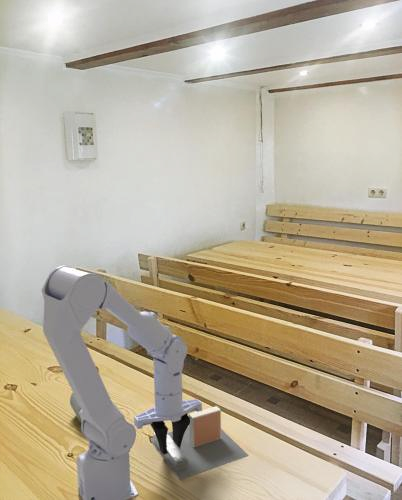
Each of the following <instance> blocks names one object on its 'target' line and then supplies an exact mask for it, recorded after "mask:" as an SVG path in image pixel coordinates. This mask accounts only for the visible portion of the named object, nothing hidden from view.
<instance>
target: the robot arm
mask: <svg viewBox="0 0 402 500" xmlns="http://www.w3.org/2000/svg"><path fill="white" fill-rule="evenodd" d="M41 294H42V297H43V301H44V306H43V323H42V332H43V334H44V337H45V339H46V341H47V343H48V345H49V347H50V349H51V351H52V353H53V355H54V357H55V359H56V361H57V363H58V365H59V367H60V369H61V370H62V371H61V372H62V373H63V375H64V377H65V379H66V381H67V383H68V386H69V387H70V389H71V391H72V393H74V395H75V397H76V399H77V401H78V403H79V405H80V407H81V410H80V412H79V415H80V417H81V421H80V424H81V425H80V429H81V432H82V435H83V436H84V437H85V438H87V439H88V441H87V442H88V449H87V450H86V451H85V452H82V453H81V454H79V455H77V456H76V468H77V471H76V472H77V485H78V486H77V490H78V492H79V496H80V497H81V499H82V500H129V499H133V498H135V497H137V496H138V495H139V492H138V490H137V489H136V487H135V485H134V484H133V482H132V480H131V470H130V469H131V467H130V465H131V464H130V452H131V449H132V448H133V446H134V444H135V442H136V438H137V430H141V429H143V427H144V426H147V425H150V426H151V428H152V430H153V433H154V432H155V435H156V437H157V440H158V443H159V447H160V451H161V452H162V453H163V454H167V433H169V432H168V431H169V428H168V427H167V426H166V422H165V421H171V427H172V428H171V429H172V431H173V441H174V442H175V443H176V445H177V446H178V447H179V448H180V447H181V443H182V439H183V436H184V433H185V431H186V429H187V427H189V424H190V418H189V414H191V413H194V412H199V411H202V410H203V403H202V401H201V400H199V399H198V398H196V399H186V400H183V368H184V364H185V359H186V357H187V354H188V349H189V348H188V346H187V345H186V343H185V340H184V339H183V337H181V336H179V335H176V334H174V333H172V328H171V327H170V326H168V325H164V324H163V323H162V322H161V321H160V320H159V319H158V318H159V316H158V315H157V313H155V312H154V311H153V312H152V311H144V310H143V311H139V310H138V309H136V308H135V307H134V306H133V305H132V304H131V302H129V300H127V299H126V298H125V297H124V296H123V295H122V294H121V293H120V292H119V291H118V290H117V289H116V288H115V287H114V286H113V284H111V283H110V282H108V281H107V280H105V279H103V278H102V277H101V276H100V275H99V274H97V273H93V272H86V271H82V270H80V269H76V268H74V267H72V266H69V265H60V266H57V267H55V268H54V269H53V270H52V271H51V272H50V273H49V275H48V277H47V278H46V280H45V281H44V285H43V286H42V288H41ZM98 309H100V310H105V311H107V312H108V313H109V314H111V315H112V316H114V317H115V318H116V319H118V320H119V321H120V322H122V323H123V324H125V325H126V326H127V329H126V330H127V334H128V336H129V337H130V338H131V339H133V341H135V342H137V344H139V345H140V346H142V347H143V349H145V350H146V354H147V355H148V356H151V357H153V358H152V360H153V361H152V362H153V386H154V387H153V388H154V406H153V407H151V408H149V409H148V410H145V411H144V412H142V413H140V414H136V415H134V417H133V420H134V424H132V423H131V422H130V421H127V420H126V417H125V415H124V414H123V413H122V412H121V410H119V408H118V406H117V405H116V404H115V403H113V401H112V399H111V397H110V394H109V392H108V391H107V387H106V386H105V383H104V381H103V380H102V377H101V375H100V373H99V370H98V369H97V366H96V363H95V362H94V360H93V357H92V355H91V354H90V351H89V349H88V346H87V344H86V343H85V341H84V338H83V336H82V334H81V330H82V329H84V327H85V325H87V323H88V322H89V320H90V319H91V318H92V317H93V315H94V314H95V313H96V312H97V310H98ZM114 404H115V405H116V406H117V407H116V406H115V405H114ZM136 429H137V430H136Z"/></svg>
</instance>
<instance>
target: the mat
mask: <svg viewBox="0 0 402 500" xmlns="http://www.w3.org/2000/svg"><path fill="white" fill-rule="evenodd" d="M167 434H168V435H169V436H170V437H171V438H172V440H173V430H172V431H169V432H167ZM148 440H150V442H151V443H152V444H153V446H154V447H155V448H156V450H157V451H158V452H159V454H160V455H161V457H162V458H163V459H164V461H165V462H166V463H167V464H168V466H169V467H170V469H171V470H172V471H173V473H174V474H175V475H176V477H177V478H178V480H180V481H181V480H184V479H188V478H190V477H193V476H195V475H198V474H202V473H204V472H207V471H209V470H213V469H215V468H217V467H221V466H223V465H226V464H229V463H231V462H234V461H237V460H240V459H243V458H245V457H248V456H249V454H248V453H247V452H246V451H245V450H244V449H243V448H242V447H241V446H240V445H239V444H237V442H236V441H234V439H233V438H231V437H230V436H229V435H228V434H227V433H226V432H225V431H224V429H222V428H221V439H218V440H215V441H212V442H209V443H206V444H203V445H200V446H197V447H194V448H193V447H192V446H191V445H190V443H189V426H188V427H187V429H186V431H185V433H184V436H183V439H182V443H181V447H180V449H181V451H182V452H183V453H184V454H185V455H186V457H187V458H188V470H186V471H183V472H180V473H176V472H175V470H174V469H173V468H172V466H171V465H170V464H169V462H168V461H167V460H166V458H165V457H164V456H163V454H162V453H161V452H160V450H159V449H158V448H157V446H156V445H155V444H154V436H153V437H150V438H149V439H148Z"/></svg>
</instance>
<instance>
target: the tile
mask: <svg viewBox="0 0 402 500" xmlns="http://www.w3.org/2000/svg"><path fill="white" fill-rule="evenodd" d="M221 413H222V410H221V408H219V407H218V405H216V406H211V407H209V408H205V409H202V411H199V412H197V411H193V412H190V413H188V417H189V418H190V424H189V426H188V427H189V443H190V445H191V446H192V447H193V448H194V447H197V446H200V445H203V444H206V443H209V442H212V441H215V440H218V439H221V429H222V424H221V423H222V422H221V420H222V414H221Z"/></svg>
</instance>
